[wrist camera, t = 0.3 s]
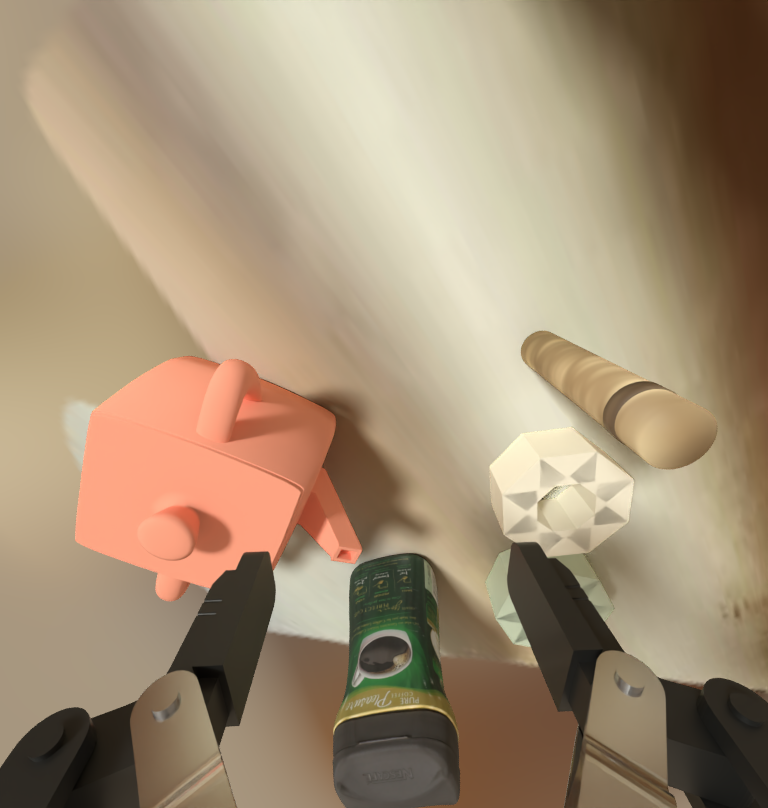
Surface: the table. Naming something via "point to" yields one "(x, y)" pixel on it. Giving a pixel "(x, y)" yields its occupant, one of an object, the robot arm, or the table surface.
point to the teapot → (207, 474)
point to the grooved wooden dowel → (624, 402)
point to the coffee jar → (395, 693)
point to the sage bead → (506, 609)
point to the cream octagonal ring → (575, 507)
